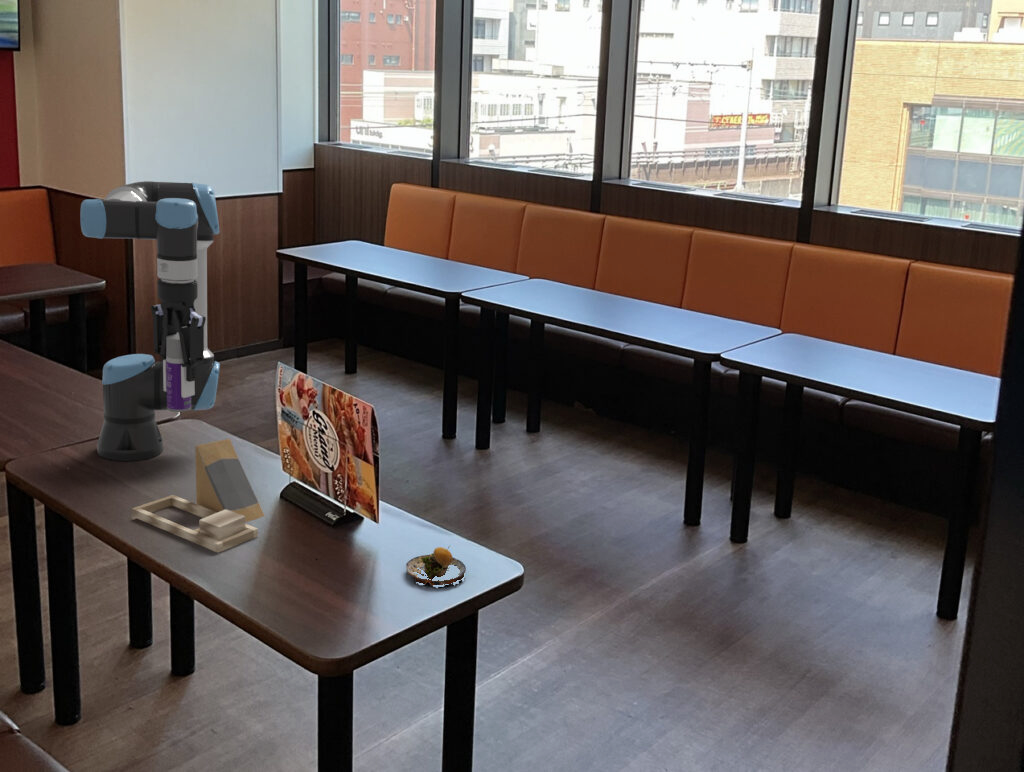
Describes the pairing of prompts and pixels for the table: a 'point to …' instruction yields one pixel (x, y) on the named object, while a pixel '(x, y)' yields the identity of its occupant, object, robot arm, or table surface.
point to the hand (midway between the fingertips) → (179, 392)
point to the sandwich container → (224, 481)
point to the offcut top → (222, 522)
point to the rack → (194, 536)
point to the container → (175, 375)
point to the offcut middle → (223, 535)
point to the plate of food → (435, 566)
